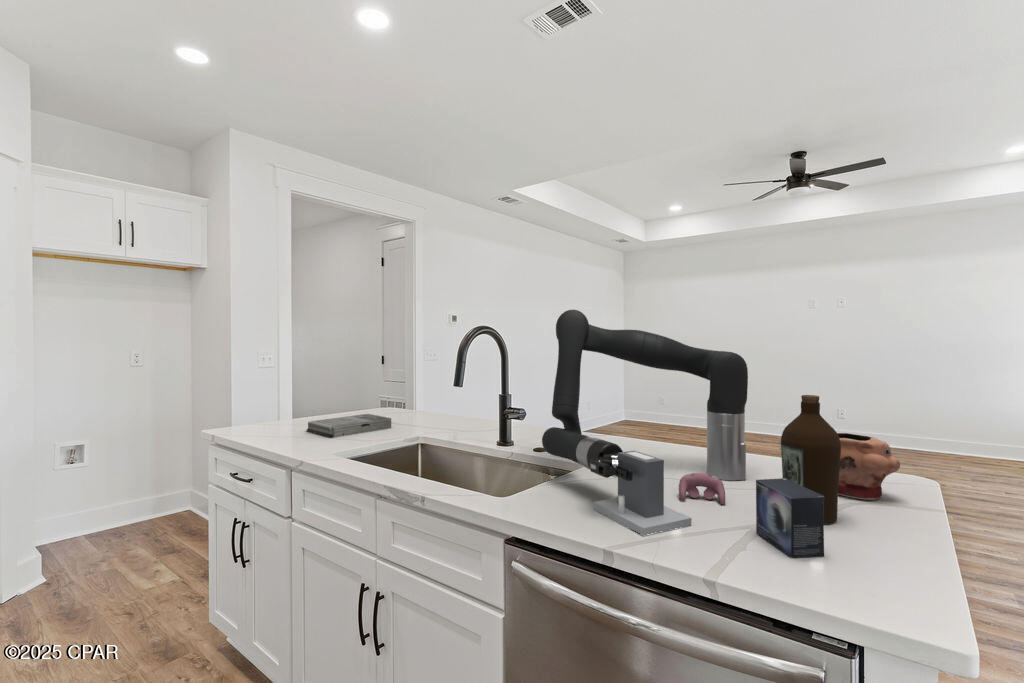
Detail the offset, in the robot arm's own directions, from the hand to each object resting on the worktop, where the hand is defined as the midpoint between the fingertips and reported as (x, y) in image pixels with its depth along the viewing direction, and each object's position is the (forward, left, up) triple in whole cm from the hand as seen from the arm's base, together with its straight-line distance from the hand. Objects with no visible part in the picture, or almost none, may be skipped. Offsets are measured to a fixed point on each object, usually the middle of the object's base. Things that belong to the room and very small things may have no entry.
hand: (647, 473), depth 98 cm
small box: (-25, +4, -10) cm, 27 cm away
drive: (+2, -2, -8) cm, 8 cm away
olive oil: (-32, -13, -10) cm, 36 cm away
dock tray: (+1, -1, -10) cm, 10 cm away
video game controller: (-11, -17, -10) cm, 22 cm away
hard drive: (+119, -61, -10) cm, 134 cm away
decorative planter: (-44, -33, -10) cm, 56 cm away
